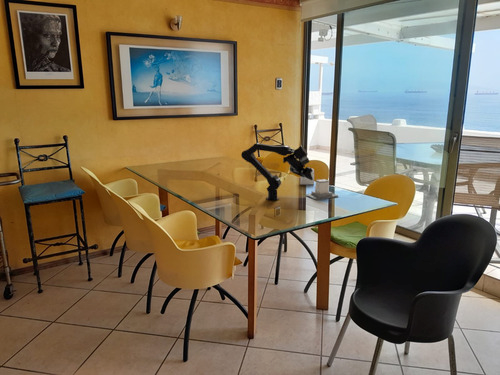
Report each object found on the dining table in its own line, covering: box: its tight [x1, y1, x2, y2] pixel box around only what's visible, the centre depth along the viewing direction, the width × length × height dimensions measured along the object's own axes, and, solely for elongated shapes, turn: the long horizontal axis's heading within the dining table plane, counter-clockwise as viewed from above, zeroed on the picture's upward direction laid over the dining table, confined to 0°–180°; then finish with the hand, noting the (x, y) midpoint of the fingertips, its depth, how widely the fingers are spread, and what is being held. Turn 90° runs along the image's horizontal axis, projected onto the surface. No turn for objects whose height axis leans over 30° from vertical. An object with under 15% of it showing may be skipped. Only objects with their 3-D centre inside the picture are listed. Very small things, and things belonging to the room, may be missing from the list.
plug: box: [314, 178, 330, 194], centre depth 246 cm, size 5×7×10 cm
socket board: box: [305, 190, 339, 201], centre depth 247 cm, size 12×18×3 cm, turn 116°
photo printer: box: [299, 167, 315, 185], centre depth 279 cm, size 10×4×12 cm, turn 90°
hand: (308, 178), depth 239 cm, fingers open, 9 cm apart
